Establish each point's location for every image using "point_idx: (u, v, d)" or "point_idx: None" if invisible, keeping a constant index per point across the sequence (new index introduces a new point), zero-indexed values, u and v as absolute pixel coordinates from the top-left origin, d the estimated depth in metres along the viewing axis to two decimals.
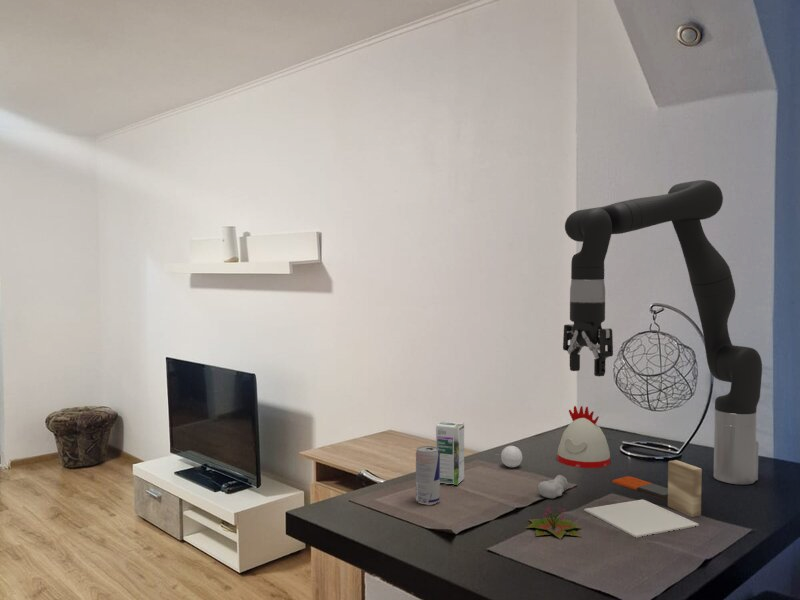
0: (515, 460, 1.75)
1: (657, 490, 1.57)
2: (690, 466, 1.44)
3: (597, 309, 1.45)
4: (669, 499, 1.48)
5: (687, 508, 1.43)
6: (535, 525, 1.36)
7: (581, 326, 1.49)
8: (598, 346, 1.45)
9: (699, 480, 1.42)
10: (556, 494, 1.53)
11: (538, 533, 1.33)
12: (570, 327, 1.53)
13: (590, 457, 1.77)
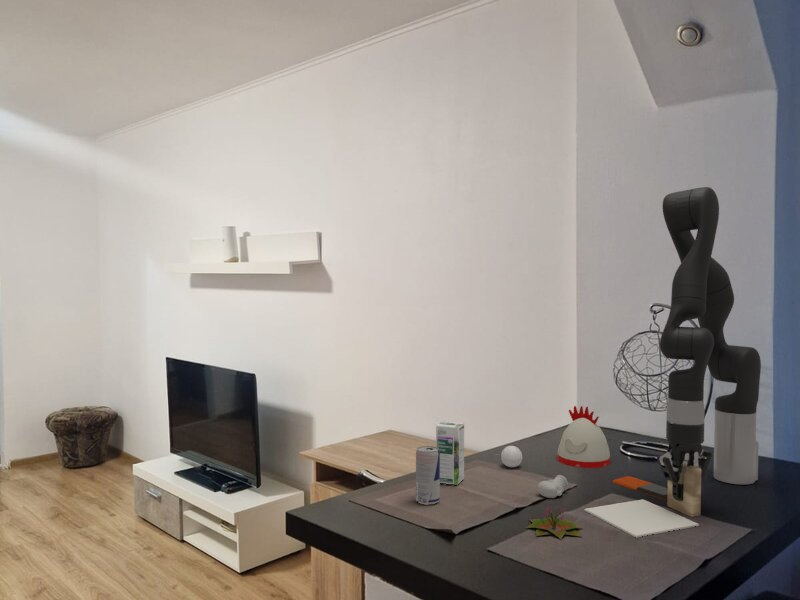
0: (515, 460, 1.75)
1: (657, 490, 1.57)
2: (690, 466, 1.44)
3: None
4: (669, 499, 1.48)
5: (687, 508, 1.43)
6: (535, 525, 1.36)
7: (686, 447, 1.44)
8: None
9: (699, 480, 1.42)
10: (556, 494, 1.53)
11: (538, 533, 1.33)
12: (667, 457, 1.43)
13: (590, 457, 1.77)
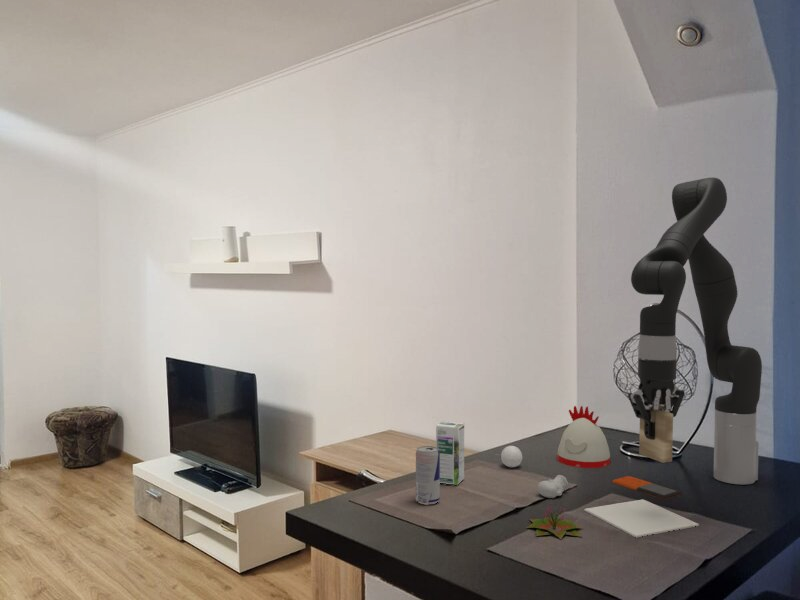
0: (515, 460, 1.75)
1: (657, 490, 1.57)
2: (662, 411, 1.40)
3: None
4: (641, 446, 1.44)
5: (658, 454, 1.40)
6: (536, 525, 1.36)
7: (657, 384, 1.40)
8: None
9: (670, 425, 1.39)
10: (556, 494, 1.53)
11: (539, 533, 1.33)
12: (638, 394, 1.39)
13: (590, 457, 1.77)
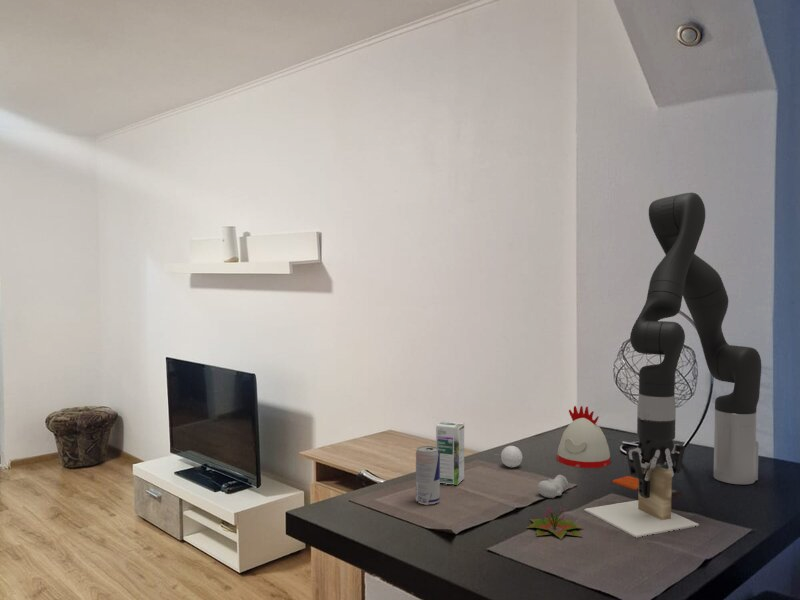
0: (515, 460, 1.75)
1: None
2: (660, 468, 1.41)
3: None
4: (640, 502, 1.45)
5: (657, 511, 1.40)
6: (536, 525, 1.36)
7: (657, 444, 1.41)
8: None
9: (669, 483, 1.39)
10: (555, 494, 1.53)
11: (539, 533, 1.33)
12: (637, 452, 1.40)
13: (590, 457, 1.77)
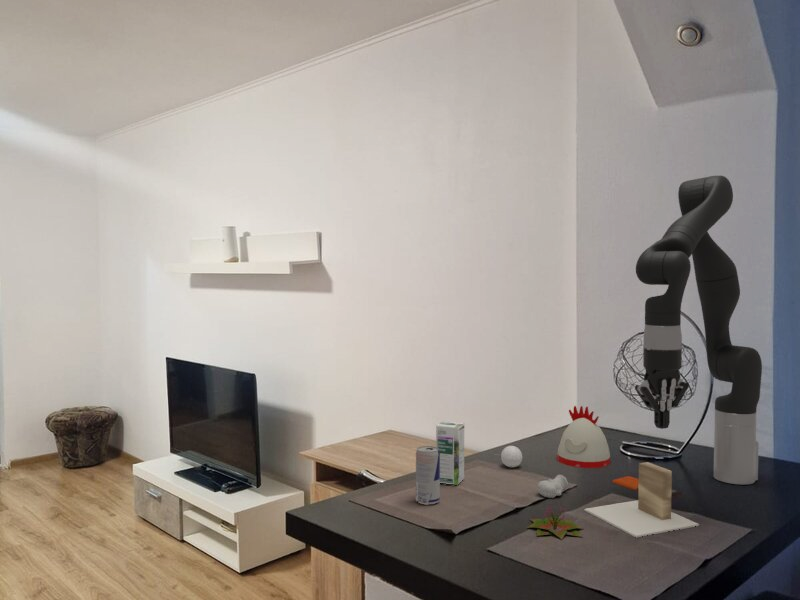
0: (515, 460, 1.75)
1: None
2: (660, 468, 1.41)
3: None
4: (640, 502, 1.45)
5: (657, 511, 1.40)
6: (536, 525, 1.36)
7: (663, 374, 1.41)
8: None
9: (669, 483, 1.39)
10: (555, 493, 1.53)
11: (539, 533, 1.33)
12: (645, 386, 1.40)
13: (590, 457, 1.77)
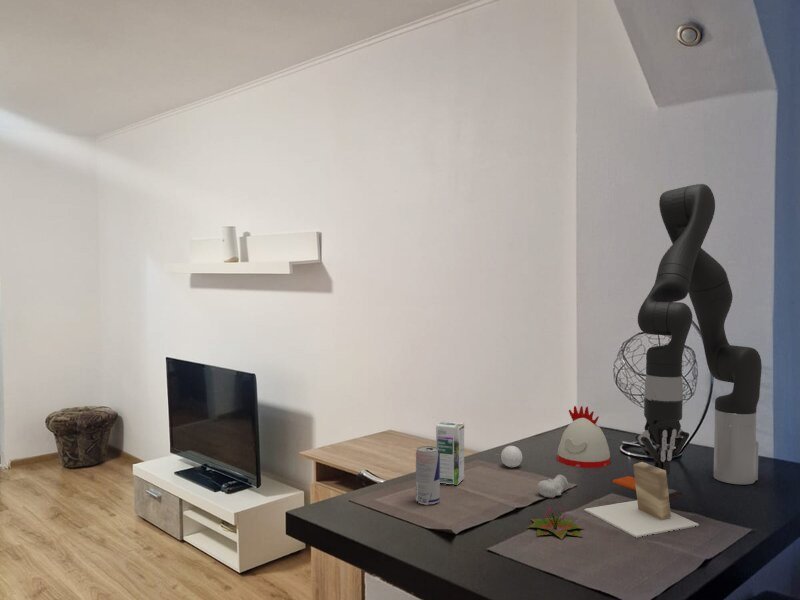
0: (515, 460, 1.75)
1: None
2: (654, 468, 1.40)
3: None
4: (639, 502, 1.45)
5: (656, 511, 1.40)
6: (537, 525, 1.36)
7: (664, 424, 1.41)
8: None
9: (665, 482, 1.39)
10: (555, 493, 1.53)
11: (540, 533, 1.33)
12: (645, 436, 1.40)
13: (590, 457, 1.77)
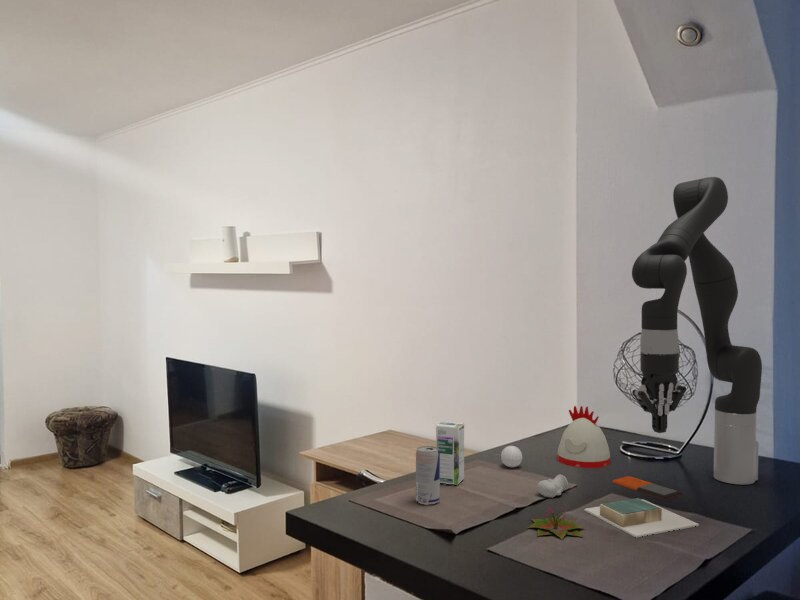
0: (515, 460, 1.75)
1: (657, 490, 1.57)
2: (615, 516, 1.37)
3: None
4: None
5: None
6: (537, 525, 1.36)
7: (660, 378, 1.40)
8: None
9: (632, 516, 1.36)
10: (555, 493, 1.53)
11: (540, 533, 1.33)
12: (642, 390, 1.39)
13: (590, 457, 1.77)
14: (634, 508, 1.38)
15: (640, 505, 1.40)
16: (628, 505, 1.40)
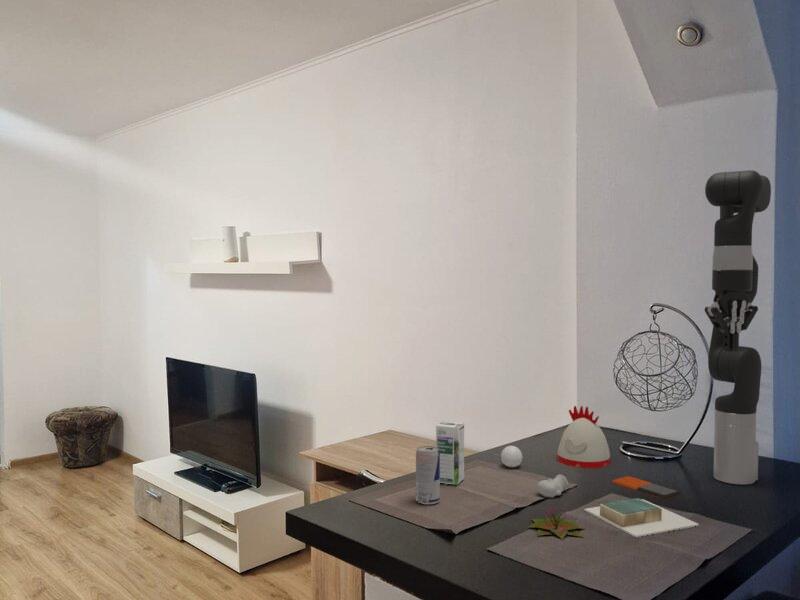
0: (515, 460, 1.75)
1: (658, 490, 1.57)
2: (615, 516, 1.37)
3: None
4: None
5: None
6: (538, 525, 1.36)
7: (733, 296, 1.39)
8: None
9: (632, 516, 1.36)
10: (555, 493, 1.54)
11: (540, 533, 1.33)
12: (715, 307, 1.38)
13: (590, 457, 1.77)
14: (634, 508, 1.38)
15: (640, 505, 1.40)
16: (628, 505, 1.40)
